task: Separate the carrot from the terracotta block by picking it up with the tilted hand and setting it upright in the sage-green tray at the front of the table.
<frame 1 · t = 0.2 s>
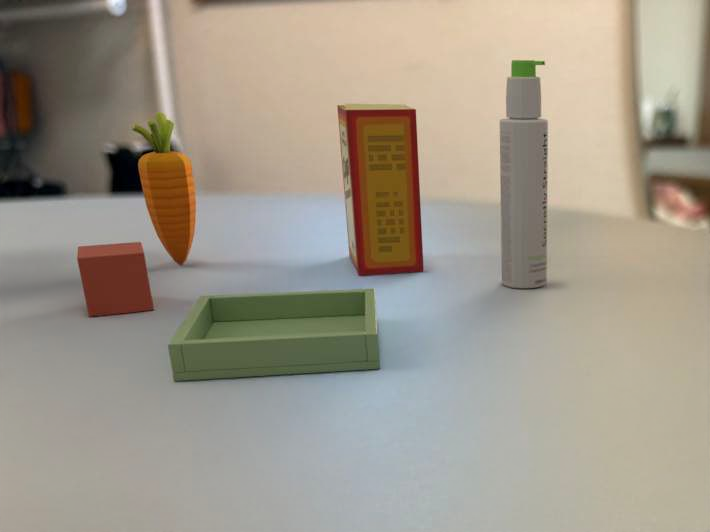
baking soda box: (385, 265, 90), on the table
bottle: (524, 285, 82), on the table
terracotta block: (121, 306, 74), on the table
green tray: (286, 346, 64), on the table
carrot: (181, 266, 89), on the table
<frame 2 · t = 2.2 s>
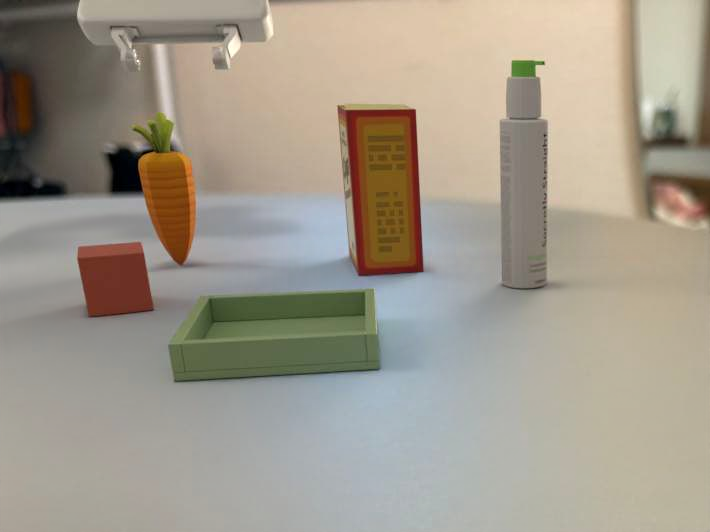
hand: (175, 66, 92), 19 cm above the table, tool tilted 45°, fingers open, 8 cm apart
nothing on the table moved.
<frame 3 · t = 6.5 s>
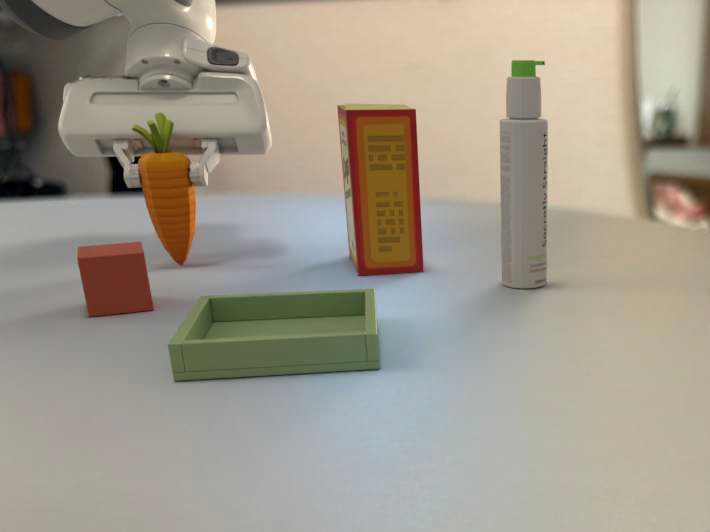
hand: (166, 183, 85), 8 cm above the table, tool tilted 45°, fingers closed on carrot, 5 cm apart
carrot: (181, 266, 89), on the table, touching gripper
everything else where it was.
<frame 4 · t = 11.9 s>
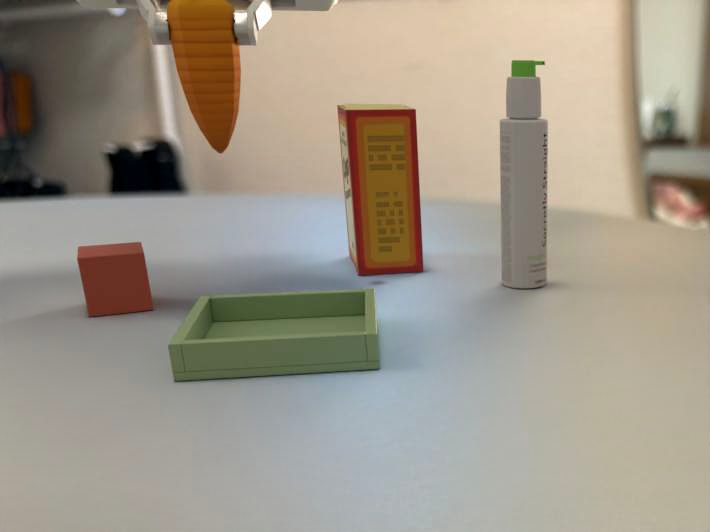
hand: (204, 39, 64), 21 cm above the table, tool tilted 45°, fingers closed on carrot, 5 cm apart
carrot: (221, 155, 68), point 13 cm above the table, touching gripper
everything else where it was.
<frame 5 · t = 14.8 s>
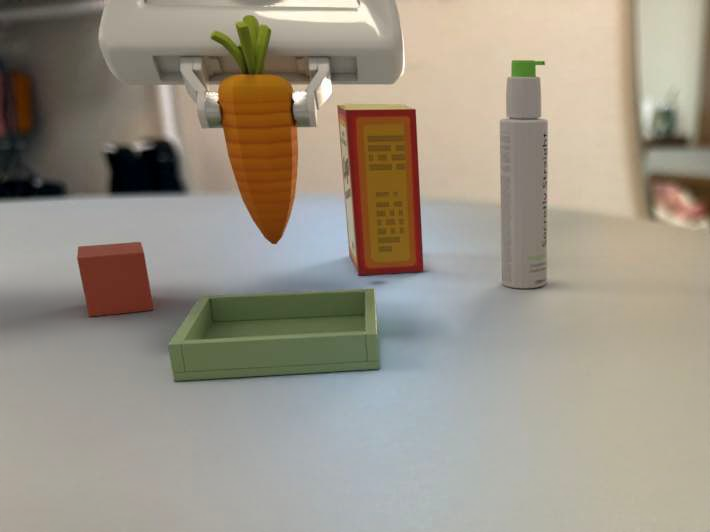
hand: (259, 121, 57), 16 cm above the table, tool tilted 45°, fingers closed on carrot, 5 cm apart
carrot: (274, 246, 61), point 8 cm above the table, touching gripper
everything else where it was.
when the fingers open (9 cm above the table, at t = 17.2 s): carrot stays where it is, resting on green tray.
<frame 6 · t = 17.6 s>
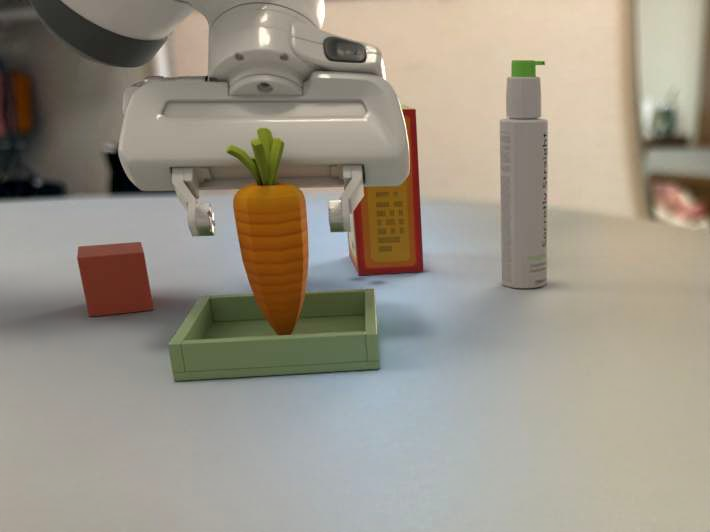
hand: (271, 229, 60), 9 cm above the table, tool tilted 45°, fingers open, 8 cm apart
carrot: (285, 341, 64), resting on green tray
everything else where it was.
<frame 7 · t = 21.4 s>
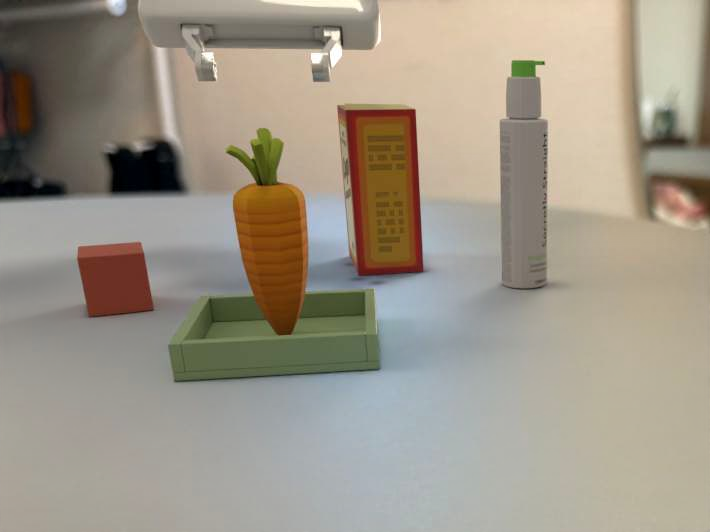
hand: (264, 76, 72), 19 cm above the table, tool tilted 45°, fingers open, 8 cm apart
nothing on the table moved.
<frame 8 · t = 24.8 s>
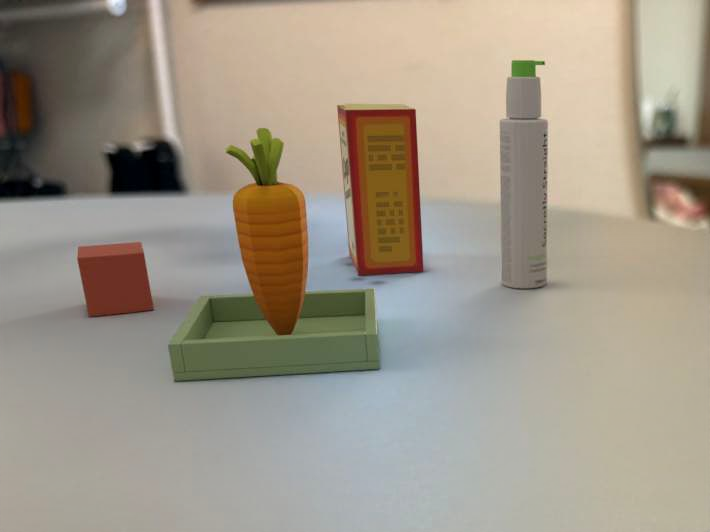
nothing on the table moved.
at the end: carrot inside the target area in the green tray (0.0 cm from its centre), point 0.4 cm above the green tray's base; carrot tilted 0°; terracotta block moved 0.0 cm from its start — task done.
